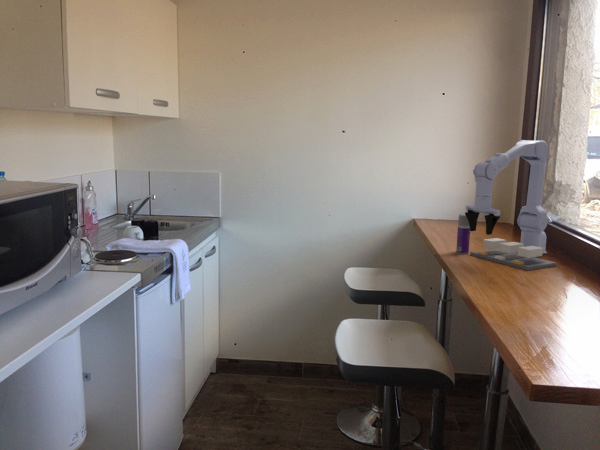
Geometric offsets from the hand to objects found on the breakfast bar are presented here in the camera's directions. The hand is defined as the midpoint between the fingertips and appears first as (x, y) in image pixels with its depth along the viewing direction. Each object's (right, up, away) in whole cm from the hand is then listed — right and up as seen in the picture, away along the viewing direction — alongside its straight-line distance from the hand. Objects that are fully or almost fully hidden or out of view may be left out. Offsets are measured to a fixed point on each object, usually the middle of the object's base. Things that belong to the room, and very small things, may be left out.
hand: (480, 232), depth 195 cm
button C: (+15, -8, -6) cm, 18 cm away
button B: (+11, -7, +1) cm, 13 cm away
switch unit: (+12, -10, +2) cm, 16 cm away
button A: (+8, -6, +8) cm, 12 cm away
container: (-3, -8, +13) cm, 15 cm away
